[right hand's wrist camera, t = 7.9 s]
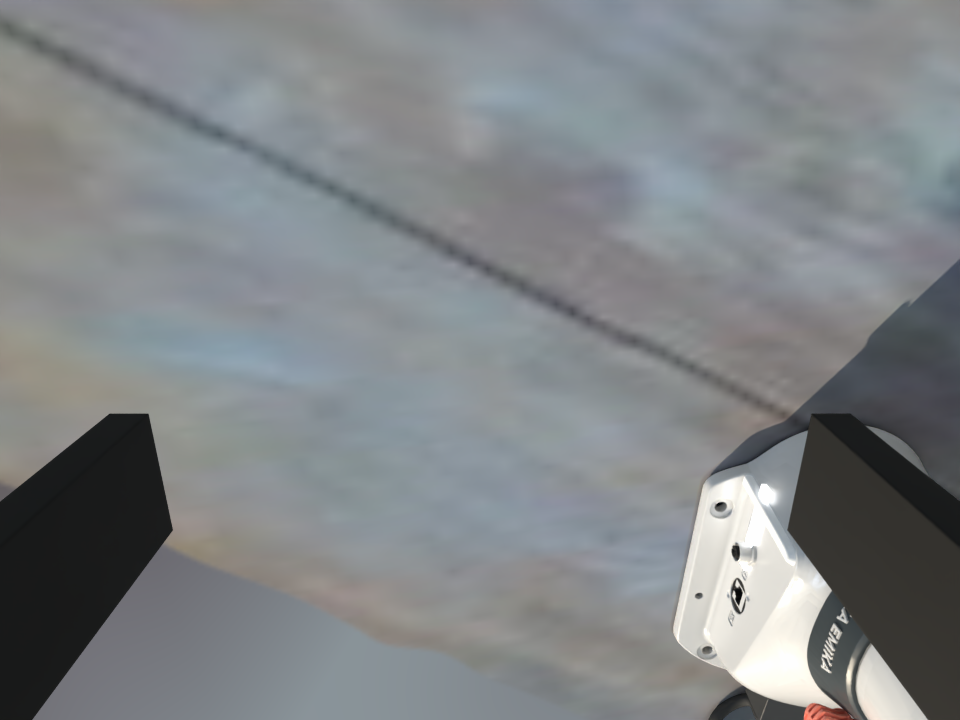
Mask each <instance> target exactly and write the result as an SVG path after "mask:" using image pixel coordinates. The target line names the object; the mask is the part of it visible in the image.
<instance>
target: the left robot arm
mask: <svg viewBox="0 0 960 720" xmlns="http://www.w3.org/2000/svg"><path fill="white" fill-rule="evenodd" d="M866 427H867V428H869V429H870V430H871V431H872V432H874V433H875V434H876V435H877V436H879V437H880V438H881V439H882V440H884V441H885V442H886V443H887V444H889V445H890V446H891V447H892V448H894V449H895V450H896V451H897V452H899V453H900V454H901V455H902V456H904V457H905V458H906V459H907V460H909V461H910V462H911V463H912V464H913V465H915V466H916V467H917V468H918V469H920V470H921V471H922V472H923V473H925V474H926V475H927V476H928V477H929V475H928V474H927V472H926V470H925V468H924V467H923V465H922V463H921V461H920V459H919V458H918V456H917V455H916V453H915V452H914V451H913V450H912V449H911V448H910V447H909V446H908V445H907V444H906V443H905V442H904V441H902V440H901V439H899V438H898V437H896V436H894V435H893V434H891V433H888V432H886V431H884V430H881V429H878V428H874V427H870V426H866ZM807 433H808V430H807V431H804V432H801V433H799V434H796V435H794V436H792V437H790V438H788V439H786V440H784V441H782V442H780V443H778V444H777V445H775V446H774V447H772V448H771V449H769V450H768V451H766V452H765V453H763V454H762V455H760V456H759V457H758V458H756V459H754V460H753V461H751V462H749V463H747V464H743V465H739V466H736V467H732V468H729V469H726V470H723V471H720V472H717V473H715V474H713V475H712V476H710V477H709V478H708V479H707V480H706V481H705V483H704V485H703V489H702V493H701V498H700V503H699V507H698V512H697V517H696V522H695V526H694V531H693V536H692V541H691V545H690V550H689V555H688V560H687V564H686V569H685V574H684V579H683V583H682V588H681V593H680V597H679V602H678V607H677V612H676V617H675V622H674V628H673V633H674V635H675V637H676V639H677V641H678V642H679V643H680V644H681V646H683V647H684V648H685V649H686V650H687V651H688V652H690V653H691V654H693V655H694V656H696V657H697V658H699V659H701V660H703V661H705V662H707V663H710V664H712V665H715V666H717V667H720V668H723V669H727V670H728V672H729V673H730V674H731V675H732V676H733V677H734V678H735V679H736V680H737V681H738V682H739V683H741V684H742V685H743V686H745V687H746V690H745V691H746V693H747V694H740V695H737V696H734V697H732V698H730V699H728V700H726V701H724V702H723V703H721V704H720V705H719V706H718V707H717V708H716V709H715V710H714V711H713V712H712V714H711V716H710V718H709V720H723V718H724V717H725V716H726V715H728V714H729V713H730V712H732V711H733V710H735V709H737V708H740V707H744V706H750V707H751V709H752V711H753V714H754V716H755V718H756V720H928V719H927V718H926V717H925V715H924V714H923V713H922V711H921V710H920V708H919V707H918V706H917V704H916V703H915V702H914V700H913V699H912V698H911V696H910V695H909V694H908V692H907V691H906V690H905V688H904V687H903V686H902V684H901V683H900V682H899V680H898V679H897V677H896V676H895V675H894V673H893V672H892V671H891V669H890V668H889V667H888V665H887V664H886V663H885V661H884V660H883V659H882V657H881V656H880V655H879V653H878V652H877V651H876V649H875V648H874V646H873V645H872V644H871V642H870V641H869V640H868V638H867V637H866V636H865V634H864V633H863V632H862V630H861V629H860V628H859V626H858V625H857V624H856V622H855V621H854V620H853V618H852V617H851V615H850V614H849V613H848V611H847V610H846V609H845V607H844V606H843V605H842V603H841V602H840V601H839V599H838V598H837V597H836V595H835V594H834V593H833V591H832V590H831V589H830V587H829V586H828V584H827V583H826V582H825V580H824V579H823V578H822V576H821V575H820V574H819V572H818V571H817V570H816V568H815V567H814V566H813V564H812V563H811V562H810V560H809V559H808V558H807V556H806V555H805V553H804V552H803V551H802V549H801V548H800V547H799V545H798V544H797V543H796V541H795V540H794V539H793V537H792V536H791V535H790V533H789V532H788V531H787V529H788V524H789V519H790V514H791V510H792V505H793V500H794V495H795V490H796V486H797V481H798V476H799V471H800V467H801V462H802V457H803V452H804V448H805V443H806V438H807ZM719 502H723V503H722V504H721V505H720V506H715V505H716V504H717V503H719ZM706 646H707V647H706ZM848 713H849V714H850V715H851V716H853V718H854V719H852V718H851V717H850V715H849V714H848Z"/></svg>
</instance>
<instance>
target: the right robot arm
mask: <svg viewBox="0 0 960 720" xmlns="http://www.w3.org/2000/svg"><path fill="white" fill-rule="evenodd" d="M172 531H173V529H172V524H171V519H170V514H169V510H168V505H167V500H166V495H165V490H164V486H163V481H162V476H161V471H160V467H159V462H158V457H157V452H156V448H155V443H154V438H153V433H152V429H151V424H150V419H149V414H109V415H107V416H106V417H105V418H104V419H103V420H101V421H100V422H99V423H98V424H96V425H95V426H94V427H93V428H91V429H90V430H89V431H88V432H86V433H85V434H84V435H83V436H81V437H80V438H79V439H78V440H76V441H75V442H74V443H73V444H71V445H70V446H69V447H68V448H66V449H65V450H64V451H63V452H61V453H60V454H59V455H58V456H56V457H55V458H54V459H53V460H51V461H50V462H49V463H48V464H47V465H45V466H44V467H43V468H42V469H40V470H39V471H38V472H37V473H35V474H34V475H33V476H32V477H30V478H29V479H28V480H27V481H25V482H24V483H23V484H22V485H20V486H19V487H18V488H17V489H15V490H14V491H13V492H12V493H10V494H9V495H8V496H7V497H5V498H4V499H3V500H2V501H1V502H0V720H32V719H33V718H34V716H35V715H36V714H37V713H38V711H39V710H40V708H41V707H42V706H43V704H44V703H45V702H46V700H47V699H48V698H49V696H50V695H51V694H52V692H53V691H54V690H55V688H56V687H57V686H58V684H59V683H60V682H61V680H62V679H63V677H64V676H65V675H66V673H67V672H68V671H69V669H70V668H71V667H72V665H73V664H74V663H75V661H76V660H77V659H78V657H79V656H80V655H81V653H82V652H83V651H84V649H85V648H86V646H87V645H88V644H89V642H90V641H91V640H92V638H93V637H94V636H95V634H96V633H97V632H98V630H99V629H100V628H101V626H102V625H103V624H104V622H105V621H106V620H107V618H108V617H109V615H110V614H111V613H112V611H113V610H114V609H115V607H116V606H117V605H118V603H119V602H120V601H121V599H122V598H123V597H124V595H125V594H126V592H127V591H128V590H129V589H130V587H131V586H132V584H133V583H134V582H135V580H136V579H137V578H138V576H139V575H140V574H141V572H142V571H143V570H144V568H145V567H146V566H147V564H148V563H149V561H150V560H151V559H152V558H153V556H154V555H155V553H156V552H157V551H158V549H159V548H160V547H161V545H162V544H163V543H164V541H165V540H166V539H167V537H168V536H169V535H170V533H171V532H172ZM787 531H788V532H789V533H790V535H791V536H792V537H793V539H794V540H795V541H796V543H797V544H798V545H799V547H800V548H801V549H802V551H803V552H804V553H805V555H806V556H807V558H808V559H809V560H810V562H811V563H812V564H813V566H814V567H815V568H816V570H817V571H818V572H819V574H820V575H821V576H822V578H823V579H824V580H825V582H826V583H827V584H828V586H829V587H830V589H831V590H832V591H833V593H834V594H835V595H836V597H837V598H838V599H839V601H840V602H841V603H842V605H843V606H844V607H845V609H846V610H847V611H848V613H849V614H850V615H851V617H852V618H853V620H854V621H855V622H856V624H857V625H858V626H859V628H860V629H861V630H862V632H863V633H864V634H865V636H866V637H867V638H868V640H869V641H870V642H871V644H872V645H873V646H874V648H875V649H876V651H877V652H878V653H879V655H880V656H881V657H882V659H883V660H884V661H885V663H886V664H887V665H888V667H889V668H890V669H891V671H892V672H893V673H894V675H895V676H896V677H897V679H898V680H899V682H900V683H901V684H902V686H903V687H904V688H905V690H906V691H907V692H908V694H909V695H910V696H911V698H912V699H913V700H914V702H915V703H916V704H917V706H918V707H919V708H920V710H921V711H922V713H923V714H924V715H925V717H926V718H927V719H928V720H960V501H958V500H957V499H956V498H955V497H953V496H952V495H951V494H950V493H948V492H947V491H946V490H945V489H943V488H942V487H941V486H940V485H938V484H937V483H936V482H935V481H933V480H932V479H931V478H930V477H928V476H927V475H926V474H925V473H923V472H922V471H921V470H920V469H918V468H917V467H916V466H915V465H913V464H912V463H911V462H910V461H909V460H907V459H906V458H905V457H904V456H902V455H901V454H900V453H899V452H897V451H896V450H895V449H894V448H892V447H891V446H890V445H889V444H887V443H886V442H885V441H884V440H882V439H881V438H880V437H879V436H877V435H876V434H875V433H874V432H872V431H871V430H870V429H869V428H867V427H866V426H865V425H864V424H862V423H861V422H860V421H859V420H857V419H856V418H855V417H854V416H853V415H851V414H811V419H810V424H809V429H808V433H807V438H806V443H805V448H804V452H803V457H802V462H801V467H800V471H799V476H798V481H797V486H796V490H795V495H794V500H793V505H792V510H791V514H790V519H789V524H788V529H787Z"/></svg>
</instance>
